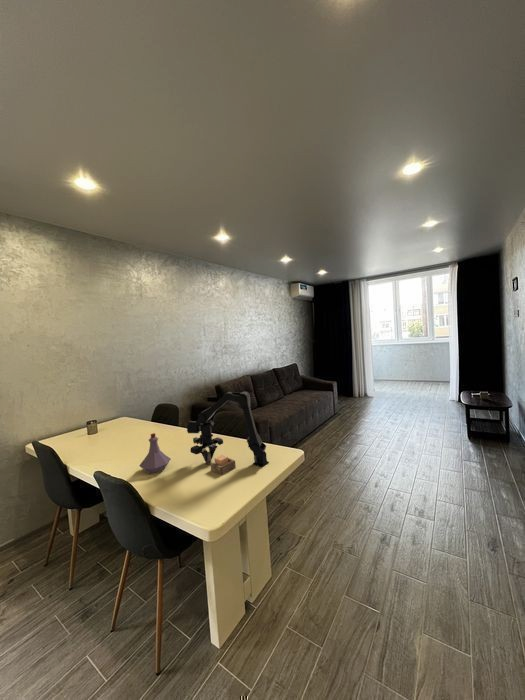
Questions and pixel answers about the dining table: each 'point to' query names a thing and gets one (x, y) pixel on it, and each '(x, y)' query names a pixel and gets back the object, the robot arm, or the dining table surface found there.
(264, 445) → the robot arm
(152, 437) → the flask
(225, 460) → the tethered block
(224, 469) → the dark brown open box
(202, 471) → the dining table surface
